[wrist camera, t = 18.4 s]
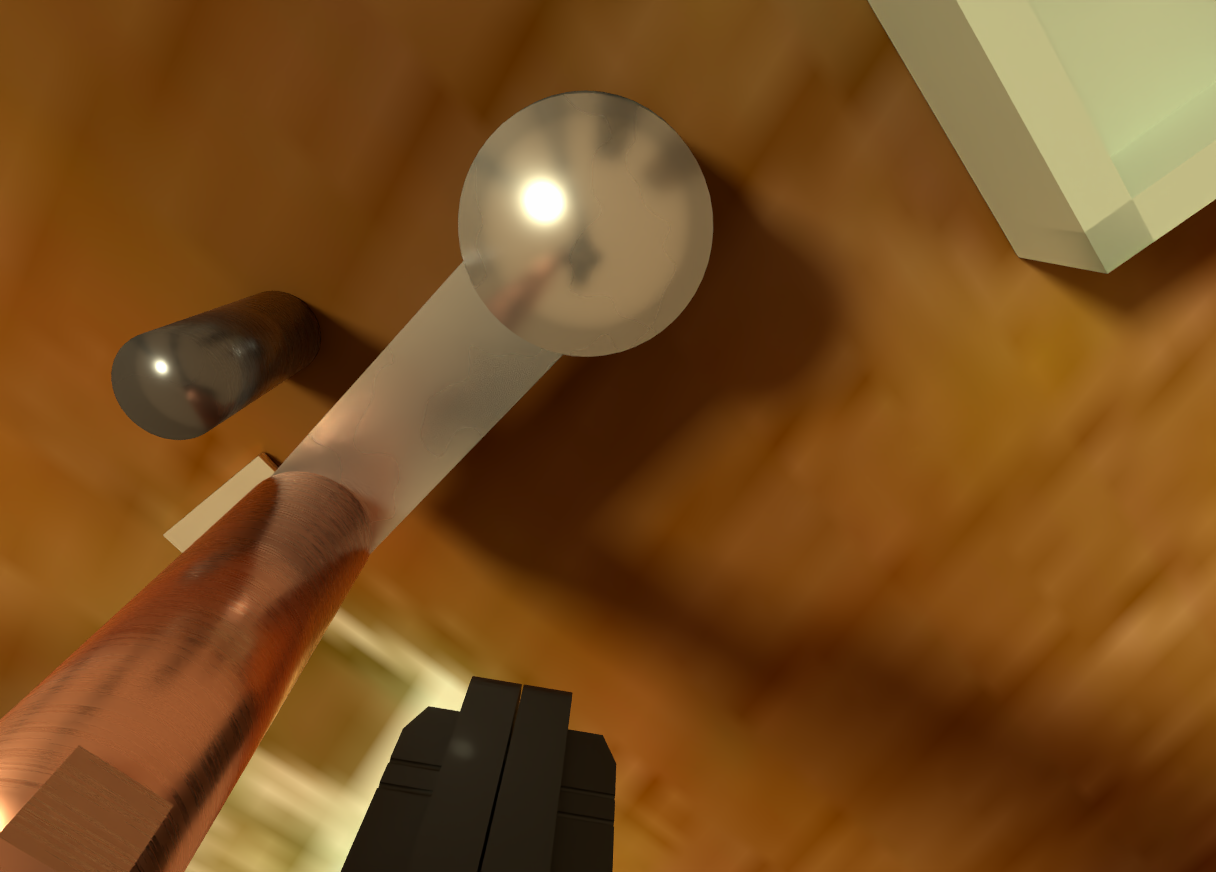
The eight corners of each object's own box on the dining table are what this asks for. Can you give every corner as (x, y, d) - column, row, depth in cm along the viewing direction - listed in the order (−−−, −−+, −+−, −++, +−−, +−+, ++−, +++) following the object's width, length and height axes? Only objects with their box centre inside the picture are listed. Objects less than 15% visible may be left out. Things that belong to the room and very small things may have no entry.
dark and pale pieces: (80, 448, 19) (-88, 536, 14) (577, 8, 16) (571, -62, 11) (256, 610, 21) (157, 738, 16) (737, 237, 18) (790, 258, 13)
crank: (583, 53, 14) (559, -304, 4) (739, 221, 15) (1073, 319, 5) (207, 485, 17) (-439, 1000, 6) (363, 603, 18) (34, 1216, 7)
